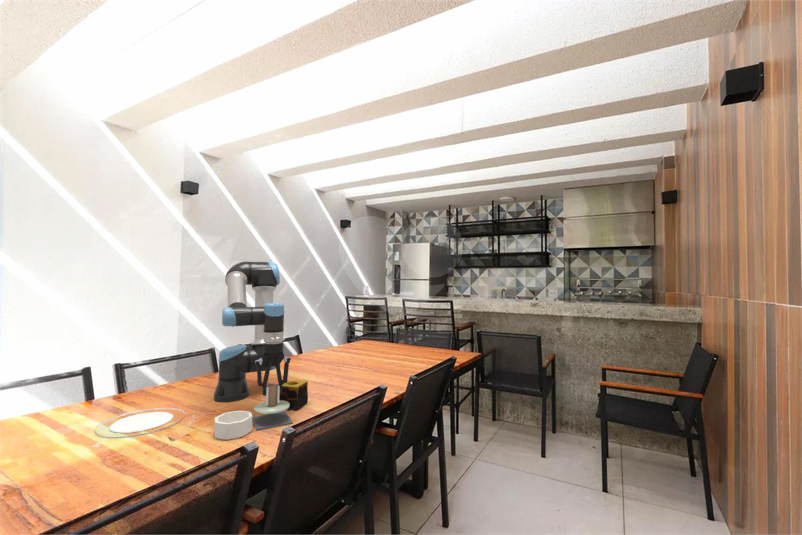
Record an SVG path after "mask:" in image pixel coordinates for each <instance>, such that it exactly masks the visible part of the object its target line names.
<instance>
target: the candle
mask: <svg viewBox="0 0 802 535" xmlns="http://www.w3.org/2000/svg"><path fill="white" fill-rule="evenodd" d="M308 384H309V381H308V380H297V379H287V383H284V384H283V385H282V393H279V400H283V401H287V402H289V404H290V407H289V408H288V409H287V410H286V411H289V410H290V411H299V410H300V409H301V408H303V407H305V406H306V405H307V404H308V399H309V396H308V395H309V393H308V390H309V389H308Z"/></svg>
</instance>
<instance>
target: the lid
mask: <svg viewBox="0 0 802 535" xmlns="http://www.w3.org/2000/svg"><path fill="white" fill-rule="evenodd" d="M277 384H278V383H270V384H267V386H268V387H269V399H268V405H266V403H265V401H262V402H260V403H258V404H255V406H254V407H253V409H254V410H253V411H254V412H255V413H257V414H260V415H266V414H273V413H279V412H283V411H285V412H286V411H288V410H287V409H288V408H289V407H290V404H289V402H287V401H283V400H279V403H277Z"/></svg>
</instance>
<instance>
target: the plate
mask: <svg viewBox="0 0 802 535" xmlns="http://www.w3.org/2000/svg"><path fill="white" fill-rule="evenodd" d="M154 410H155V411H154ZM156 410H175V411H179V412H182V413H183V414H184V416H183V418H181V419H180V420H179V421H177V422H175V423H173V424H170V425H168V426H165V427H163V428H160V429H158V430H154V431H149V430H153V429H155V428H156V429H157V428H158V427H161V426H164V425H166V424H168V423H169V422H171V421H172V420H173V419H174V415H173V413H171V412H167V411H156ZM147 411H150V412H147ZM140 412H141V413H140ZM135 413H138V414H135ZM127 414H128V415H129V416H127ZM130 414H131V415H130ZM133 414H134V415H133ZM120 416H121V417H123V416H125V417H124V418H121V419H118V420H117V421H115V422H113V423H112V424H110V426H109V428H110V429H109V431H110V432H112V433H115V432H116V433H117V434H131V433H133V432H134V433H139V431H140V432H144V433H140V434H134V435H127V436H103V435H101V434H98V433H96V434H95V435H96V436H97V437H100V436H101V437H100V438H104V437H106V438H105V439H126V438H125V437H127V438H134V437H140V436H139V435H141V436H145V435H144V434H146V435H149V434H148V433H150V434H152V433H153V432H154V433H157V432H160V431H163V430H166V429H169V428H171V427H173V426H175V425H177V424H179V423H180V422H182V421H183V420H184V418H185V416H186V412H185V411H184V410H182V409H181V408H176V407H175V408H174V407H157V408H147V409H141V410H134V411H131V412H127V413H123V414H120V415H118V416H114V417H112V418H109V419H107V420H105V421H103V422H102V423H100V424H98V425H97V426H96V427H95V428H94V431H95V430H97V429H98V428H99V427H100V426H102V425H103V423H104V424H105V422H106V423H107V421H108V422H110V421H112V420H115V419H117V417H118V418H120ZM114 418H115V419H114ZM111 419H112V420H111ZM109 420H110V421H109ZM101 424H102V425H101ZM98 426H99V427H98ZM97 427H98V428H97ZM96 428H97V429H96ZM152 428H153V429H152ZM148 429H149V430H148ZM144 430H145V431H149V432H145V431H144ZM154 433H153V434H154Z"/></svg>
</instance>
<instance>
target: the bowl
mask: <svg viewBox="0 0 802 535" xmlns="http://www.w3.org/2000/svg"><path fill="white" fill-rule="evenodd" d="M252 417H253V414H252V412H251V411H248V410H247V411H246V410H234V411H227V412H224V413H222V414H219V415H218V416H215V417H214V425H213V426H214V427H213V431H214V432H213V434H214V435H213V436H214V438H215V439H218V440H225V441H227V440H228V441H229V440H230V441H231V440H235V439H240V438H241V437H242V438H243V437H245V436H247V435H248V434H250V433H252V431H253V421H252Z"/></svg>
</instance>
